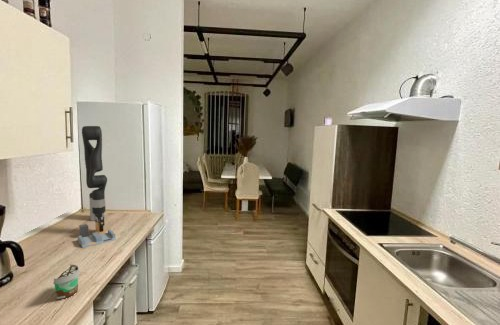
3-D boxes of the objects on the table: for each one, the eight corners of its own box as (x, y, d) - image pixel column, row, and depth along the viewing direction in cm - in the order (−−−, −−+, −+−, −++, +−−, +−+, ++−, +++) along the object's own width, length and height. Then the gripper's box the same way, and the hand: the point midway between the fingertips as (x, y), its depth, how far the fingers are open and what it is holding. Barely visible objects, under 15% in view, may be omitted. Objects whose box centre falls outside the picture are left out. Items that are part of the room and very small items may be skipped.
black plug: (79, 235, 171) (79, 225, 170) (87, 234, 174) (86, 223, 173) (81, 237, 168) (80, 227, 167) (88, 236, 171) (88, 225, 170)
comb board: (77, 240, 164) (77, 235, 164) (109, 233, 176) (109, 228, 176) (82, 248, 155) (82, 242, 154) (116, 240, 167) (115, 234, 166)
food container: (70, 302, 108) (69, 279, 107) (54, 302, 107) (53, 279, 106) (86, 284, 120) (85, 263, 119) (72, 284, 119) (71, 263, 118)
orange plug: (95, 232, 177) (95, 222, 176) (102, 231, 180) (102, 221, 179) (97, 234, 174) (96, 224, 174) (104, 232, 177) (103, 222, 176)
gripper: (89, 204, 177) (90, 227, 179) (95, 209, 167) (96, 234, 169) (102, 202, 182) (102, 225, 184) (108, 207, 172) (109, 231, 174)
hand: (99, 229), depth 177 cm, fingers open, 7 cm apart
